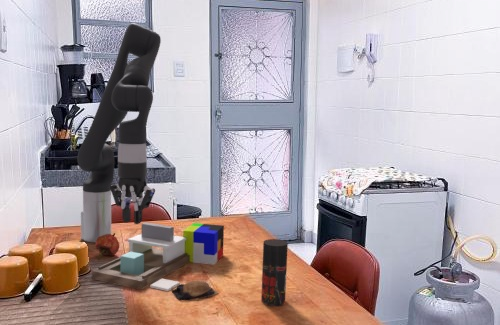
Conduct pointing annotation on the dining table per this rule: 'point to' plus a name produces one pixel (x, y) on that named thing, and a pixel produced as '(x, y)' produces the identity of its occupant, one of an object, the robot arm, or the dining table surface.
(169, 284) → the pad
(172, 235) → the cover
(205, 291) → the bread roll
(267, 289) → the deodorant
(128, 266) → the block
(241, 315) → the dining table surface
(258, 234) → the dining table surface
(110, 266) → the brown flat frame
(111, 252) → the pomegranate
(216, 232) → the puzzle toy
